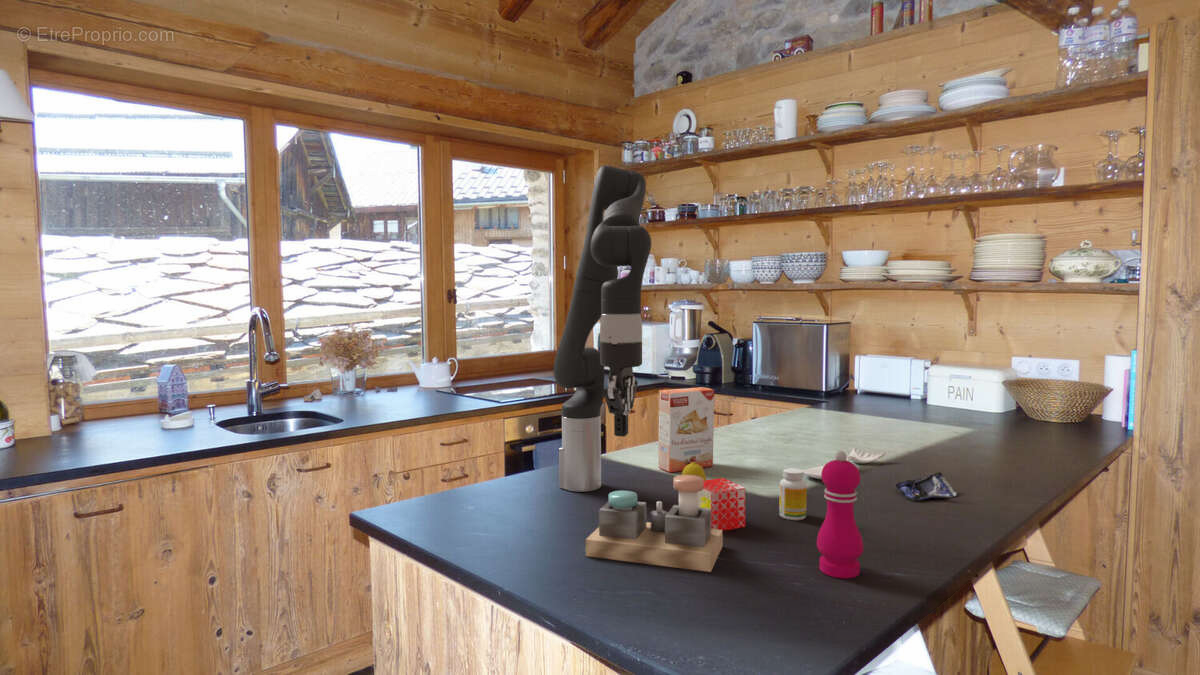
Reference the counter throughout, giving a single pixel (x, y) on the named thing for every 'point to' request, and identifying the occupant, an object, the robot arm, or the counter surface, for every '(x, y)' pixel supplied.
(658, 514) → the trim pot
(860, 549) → the pepper mill
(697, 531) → the mount
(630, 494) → the knob left
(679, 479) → the knob right
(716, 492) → the red patterned cube box
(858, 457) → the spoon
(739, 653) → the counter surface
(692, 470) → the lemon
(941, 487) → the snack package
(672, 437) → the cracker box
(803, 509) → the supplement bottle
